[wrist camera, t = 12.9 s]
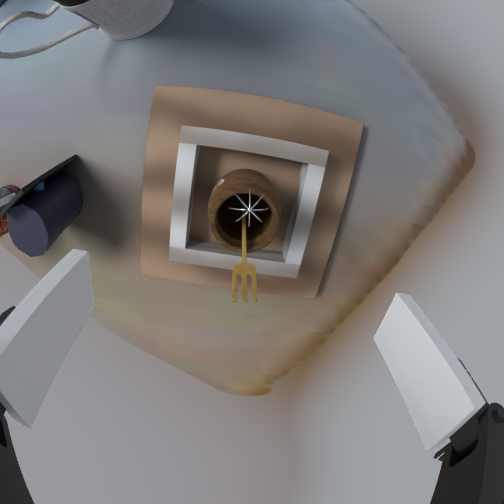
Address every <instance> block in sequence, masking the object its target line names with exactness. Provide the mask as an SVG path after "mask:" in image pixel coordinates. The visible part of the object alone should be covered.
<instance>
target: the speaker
mask: <svg viewBox="0 0 504 504" xmlns="http://www.w3.org/2000/svg"><path fill="white" fill-rule="evenodd" d="M76 158H77V155H74V156H72V157H71V158H69V159H67V160H65V161H64V162H62V163H60V164H59V165H57V166H55V167H54V168H52V169H50V170H49V171H47V172H46V173H44V174H43V175H41V176H40V177H38V178H37V179H35V180H34V181H32V182H31V183H29V184H28V185H26V186H25V187H23V188H22V189H21V190H20V191H19V192H18V193H17V194H16V195H15V196H14V197H13V198H12V199H11V200H10V201H9V203H8V204H7V205H6V206H5V207H4V208H3V209H2V210H1V212H0V218H1V217H2V216H4V215H5V214H6V213H7V212H8V211H9V210H10V211H9V213H8V222H7V229H8V231H9V234H10V236H11V239H12V241H13V243H14V244H15V246H16V247H17V248H18V249H19V250H20V251H22V252H24V253H25V254H27V255H29V256H31V257H33V256H40V255H43V254H44V253H45V252H46V251H47V250H48V248H49V247H50V246H51V245H52V243H53V242H54V241H55V240H56V239H57V238H58V236H59V235H60V234H61V233H62V232H63V231H64V229H65V228H66V227H67V226H68V225H69V224H70V223H71V222H72V221H73V219H74V218H75V217H76V216H77V215H78V214H79V213H80V209H81V206H82V202H83V198H82V195H81V191H80V188H79V185H78V184H77V183H76V181H75V180H73V179H71V178H69V177H67V176H65V175H63V174H62V175H58V176H55V175H56V174H57V173H58V172H59V171H61V170H62V169H63V168H64V167H66V166H67V165H68V164H70V163H71V162H72V161H73V160H75V159H76ZM53 176H55V177H53Z"/></svg>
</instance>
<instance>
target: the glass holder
mask: <svg viewBox="0 0 504 504" xmlns="http://www.w3.org/2000/svg"><path fill="white" fill-rule="evenodd" d="M53 1H55V2H56V3H55V4H54V5H53V6H52V7H51V8H50V9H49V10H48V11H47V12H45V13H42V14H39V13H35V12H31V11H24V12H19V13H16V14H14V15H12V16H10V17H9V18H7V19H6V20H4V21H3V22H2V23H1V24H0V32H1V31H2V30H3V29H4V28H5V27H6V26H7V25H8V24H10V23H11V22H13V21H15V20H17V19H20V18H24V17H31V18H36V19H45V18H47V17H49V16H50V15H52V14H53V13H54V12H55V11H56V10H57V9H58V8H59V7H60V6H61V7H63V8H65V9H67V10H69V11H70V12H72V13H74V14H76V15H78V16H80V17H82V18H84V19H85V20H87V21H89V22H91V23H89V24H86V25H84V26H81V27H79V28H77V29H74V30H72V31H70V32H68V33H66V34H64V35H63V36H60V37H58V38H56V39H54V40H52V41H50V42H48V43H46V44H44V45H41V46H38V47H35V48H32V49H29V50H25V51H21V52H14V53H4V52H0V58H5V59H14V58H20V57H25V56H29V55H33V54H36V53H39V52H42V51H44V50H46V49H48V48H51V47H53V46H54V45H56V44H58V43H60V42H62V41H64V40H66V39H68V38H70V37H72V36H74V35H76V34H78V33H81V32H83V31H85V30H88V29H90V28H96V29H98V28H100V30H101V32H102V33H103V34H104V35H105V36H106V37H108V38H110V39H114V40H128V39H132V38H136V37H139V36H141V35H143V34H145V33H147V32H149V31H150V30H152V29H153V28H155V27H156V26H157V25H158V24H160V23H161V22H162V21H163V20H164V19H165V17H166V16H167V15H168V13H169V12H170V10H171V8H172V6H173V3H174V0H53Z"/></svg>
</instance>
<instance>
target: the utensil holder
mask: <svg viewBox="0 0 504 504" xmlns="http://www.w3.org/2000/svg"><path fill="white" fill-rule="evenodd" d="M280 214H281V205H280V200H279V197H278V195H277V192H276V190H275V188H274V187H273V185H272V184H271V182H270V181H269V180H268V179H267V178H266V177H265V176H264V175H263V174H261V173H259V172H257V171H255V170H251V169H237V170H233V171H231V172H229V173H227V174H225V175H224V176H223V177H222V178H221V179H220V180H219V181H218V182H217V184H216V185H215V187H214V189H213V191H212V194H211V196H210V199H209V204H208V217H209V223H210V228H211V231H212V233H213V235H214V237H215V239H216V240H217V241H218V242H219V243H220V244H221V245H222V246H223V247H225V248H226V249H228V250H230V251H233V252H237V253H242V262H241V263H238V264H236V265H234V266H233V281H232V301H233V302H236V301H237V277H238V276H241V277H242V301H243V302H246V301H247V277H248V276H250V277H251V278H252V301H253V302H257V280H256V267H255V265H252V264H250V263H248V262H247V257H246V253H252V252H256V251H259V250H261V249H263V248H264V247H266V246H267V245H268V244H269V243H271V241H272V240H273V239H274V238H275V236H276V234H277V232H278V229H279V225H280Z"/></svg>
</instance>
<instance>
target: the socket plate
mask: <svg viewBox="0 0 504 504" xmlns="http://www.w3.org/2000/svg"><path fill="white" fill-rule="evenodd" d="M363 125H364V123H362V122H359V121H356V120H353V119H350V118H347V117H344V116H341V115H337V114H334V113H331V112H327V111H324V110H320V109H316V108H312V107H309V106H305V105H301V104H296V103H292V102H288V101H283V100H278V99H273V98H268V97H263V96H257V95H251V94H245V93H238V92H231V91H224V90H215V89H205V88H194V87H179V86H155V90H154V96H153V102H152V108H151V115H150V121H149V129H148V136H147V145H146V154H145V164H144V176H143V190H142V210H141V275H145V276H151V277H157V278H163V279H169V280H175V281H182V282H188V283H195V284H202V285H208V286H215V287H223V288H230V289H232V281H233V266H234V265H236V264H238V263H241V262H242V253H237V252H233V251H230V250H228V249H226V248H225V247H223V246H222V245H221V244H220V243H219V242H218V241H217V240H216V239H215V237H214V235H213V233H212V231H211V228H210V223H209V217H208V204H209V199H210V196H211V194H212V191H213V189H214V187H215V185H216V184H217V182H218V181H219V180H220V179H221V178H222V177H223V176H224V175H225V174H227V173H229V172H231V171H233V170H237V169H251V170H255V171H257V172H259V173H261V174H263V175H264V176H265V177H266V178H267V179H268V180H269V181H270V182H271V184H272V185H273V187H274V188H275V190H276V192H277V195H278V197H279V200H280V205H281V214H280V225H279V229H278V232H277V234H276V236H275V238H274V239H273V240H272V241H271V243H269V244H268V245H267V246H266V247H264V248H263V249H261V250H259V251H256V252H252V253H246V257H247V262H248V263H250V264H252V265H255V267H256V280H257V292H261V293H269V294H278V295H286V296H295V297H305V298H314V299H315V297H316V294H317V292H318V289H319V286H320V283H321V280H322V277H323V274H324V271H325V268H326V265H327V262H328V259H329V255H330V252H331V249H332V246H333V242H334V239H335V236H336V233H337V229H338V226H339V222H340V219H341V215H342V212H343V208H344V204H345V201H346V197H347V193H348V189H349V186H350V182H351V178H352V174H353V170H354V165H355V161H356V157H357V153H358V148H359V144H360V139H361V135H362V130H363ZM237 290H242V277H241V276H238V277H237ZM247 291H252V278H251V277H250V276H248V277H247Z"/></svg>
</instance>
